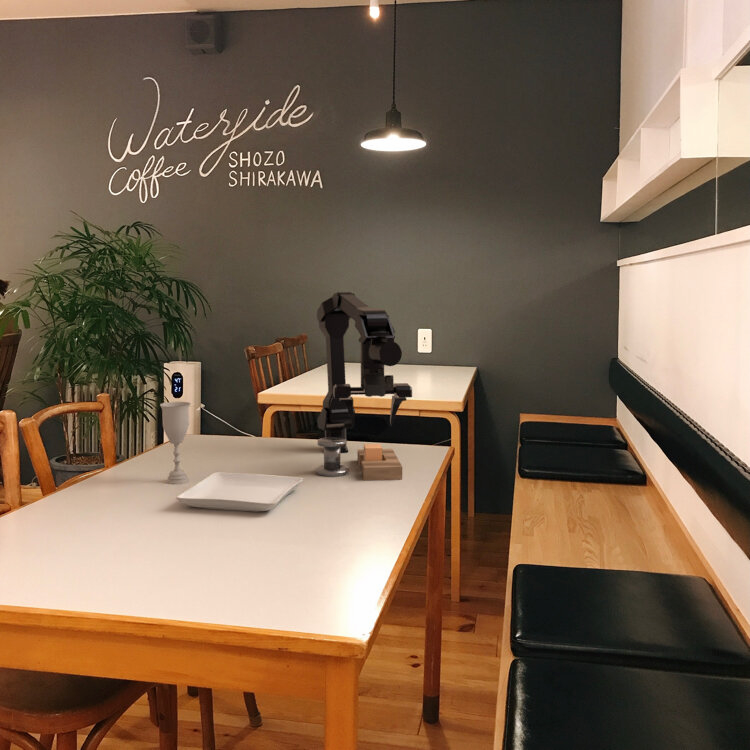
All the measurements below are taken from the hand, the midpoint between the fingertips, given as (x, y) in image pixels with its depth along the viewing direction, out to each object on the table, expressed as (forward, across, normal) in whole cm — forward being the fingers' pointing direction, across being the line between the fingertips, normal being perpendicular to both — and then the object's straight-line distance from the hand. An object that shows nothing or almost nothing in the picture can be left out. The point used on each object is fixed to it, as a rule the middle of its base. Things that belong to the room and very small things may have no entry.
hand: (372, 425), depth 199 cm
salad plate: (+12, -30, -24) cm, 40 cm away
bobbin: (+11, -10, -2) cm, 15 cm away
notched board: (+11, +2, 0) cm, 11 cm away
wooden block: (+11, 0, 0) cm, 11 cm away
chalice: (+11, -46, -7) cm, 48 cm away
